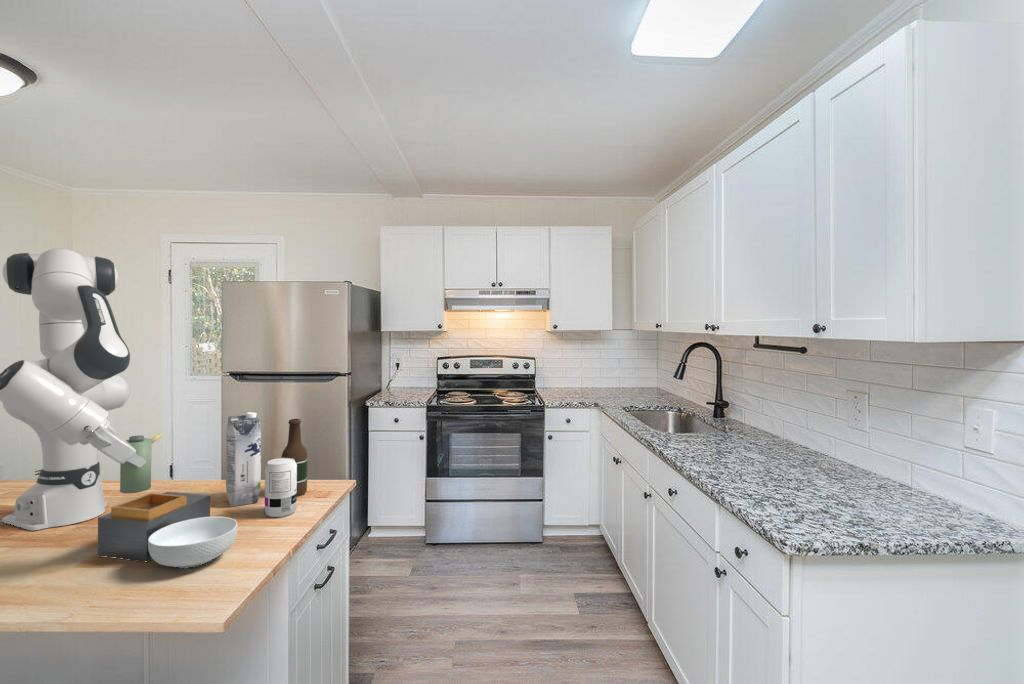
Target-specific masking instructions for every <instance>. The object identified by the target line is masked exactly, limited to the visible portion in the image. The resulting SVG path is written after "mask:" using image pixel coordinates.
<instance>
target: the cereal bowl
mask: <svg viewBox="0 0 1024 684" xmlns="http://www.w3.org/2000/svg"><path fill="white" fill-rule="evenodd" d="M238 524H239V523H238V521H237V520H236V519H234V518H231V517H228V516H210V517H201V518H195V519H190V520H185V521H181V522H177V523H174V524H171V525H169V526H166V527H164V528H161V529H159V530H158V531H156V532H154V533H153V534H152V535H151V536H150V537H149V538H148V550H149V553H150V556H151V557H152V560H153V561H154V562H155V563H156V564H159V565H161V566H165V567H171V568H172V567H174V568H176V567H179V568H178V569H183V568H184V569H189V568H188V567H193V568H195V567H194V566H197V567H199V566H198V565H201V566H203V565H202V564H204V563H206V564H208V563H210V562H212V561H213V560H214V559H215V558H218V557H219V556H220V555H223V554H224V553H225V552H226V551H228V550H229V549H230V548H231V547H232V546H233V545H234V542H235V541H236V538H237V535H238V534H237V533H238V528H239V527H238ZM212 559H213V560H212ZM209 561H210V562H209ZM207 562H208V563H207ZM204 565H205V564H204ZM186 567H187V568H186Z"/></svg>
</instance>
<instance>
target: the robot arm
mask: <svg viewBox="0 0 1024 684" xmlns="http://www.w3.org/2000/svg"><path fill="white" fill-rule="evenodd" d="M2 277H3V279H4V281H5V283H6V284H7V286H8V288H9V289H10V290H11V291H13V292H14V293H17V294H21V295H27V296H28V295H29V296H31V299H32V302H33V303H32V304H34V305H33V306H34V307H35V308H36V310H37V311H39V312H38V315H39V316H38V327H39V328H38V329H39V330H38V331H39V349H40V353H41V355H43V357H45V358H43V359H40V360H33V361H28V360H25V359H21V360H17V361H16V362H14V363H12V364H11V365H9V366H7V367H6V368H5V369H4V370H3V371H1V373H0V402H1V404H2V406H3V407H2V408H3V409H4V410H5V412H6V413H7V414H8V415H9V416H11V417H12V418H15V419H16V420H19V421H21V422H23V423H25V424H26V425H27V426H29V427H30V428H31V429H32V430H33V431H34V432H35V433H36V436H37V437H38V439H39V441H40V444H41V445H40V446H41V454H42V469H39V470H35V471H34V473H35V474H34V476H37V479H36V483H35V484H33V485H32V486H31V487H30V488H29V489H27V490H25V491H24V492H23V493H21V494H20V495H19V496H18V497H17V498H16V500H15V503H14V512H12V513H9V514H8V515H5V516H4V517H2V518H1V523H3V522H4V523H3V524H6V523H7V524H6V525H10V524H11V526H13V525H14V527H18V528H20V527H21V528H20V529H24V530H28V531H38V530H39V531H40V530H44V529H49V528H56V527H61V526H62V527H63V526H68V525H73V524H77V523H82V522H85V521H89V520H92V519H94V518H95V519H96V518H98V517H100V515H101V516H102V514H103V515H104V513H105V512H106V508H107V506H108V501H106V500H105V498H104V489H103V482H102V479H101V478H100V477H99V476H100V474H101V465H100V464H101V463H100V462H99V461H98V460H99V459H98V456H99V455H98V453H99V452H100V453H102V454H104V455H105V456H107V457H109V458H110V459H112V460H113V461H115V462H116V463H117V464H123V463H125V462H126V461H128V462H130V463H132V464H134V465H136V466H137V467H142V466H143V465H144V464H145V463H146V460H145V459H143V458H142V457H140V456H139V455H137V454H136V450H135V449H134V448H133V447H132V446H131V445H130V444H129V443H128V442H127V441H126V440H127V439H125V438H124V437H123V436H122V435H121V434H120V433H119V432H118V431H117V430H116V429H115V428H114V427H113V426H111V421H110V420H109V419H108V416H109V413H110V412H109V411H112V410H115V409H119V408H122V407H123V406H124V405H125V404H126V403H127V401H128V399H129V397H130V393H131V391H130V385H129V383H128V382H127V380H126V379H125V378H124V377H123V376H121V375H119V374H121V373H123V372H124V371H126V370H127V369H128V367H129V366H130V362H131V354H130V353H131V352H130V349H129V347H128V346H127V344H126V342H125V341H124V340H123V337H122V336H121V332H120V330H119V327H118V324H117V321H116V319H115V316H114V313H113V310H112V307H111V304H110V301H109V300H108V298H107V296H109V295H111V294H112V293H113V292H114V291H116V288H117V286H118V284H119V281H120V274H119V271H118V269H117V267H116V265H115V263H114V262H113V261H112V260H111V259H108V258H106V257H101V256H95V257H93V256H88V255H82V254H80V253H79V252H76V251H75V250H72V249H67V248H52V249H48V250H46V251H44V252H42V253H32V254H31V253H28V252H19V253H14V254H11V255H10V256H8V257H7V258H6V261H5V262H4V264H3V267H2ZM98 451H99V452H98Z"/></svg>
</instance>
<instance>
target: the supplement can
mask: <svg viewBox="0 0 1024 684" xmlns="http://www.w3.org/2000/svg"><path fill="white" fill-rule="evenodd" d="M297 500H298V499H297V464H296V462H295V460H294V459H292V458H281V457H278V458H274V459H270V460H268V461H267V464H266V465H265V467H264V514H265V515H266V516H267V515H268V516H267V517H269V516H270V517H269V518H273V517H277V518H283V517H288V516H290V515H292V514H293V512H295V511H296V510H297V508H298V507H297V506H298V505H297Z"/></svg>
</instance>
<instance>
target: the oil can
mask: <svg viewBox="0 0 1024 684" xmlns="http://www.w3.org/2000/svg"><path fill="white" fill-rule="evenodd" d="M162 437H163V434H162V433H158V434H156V435H154V436H153V437H152V438H149V437H147V438H146V437H145V435H139V434H138V435H132V436H129V437H128V439H125V440H126V441H127V442H128V443H129V444H130V445H131V446H132V447H133V448H134V449H135V450H136V454H137V455H139V456H140V457H142V458H143V459H145V460H146V463H145V464H144V465H143V466H142V467H137V466H136V465H134V464H132V463H130V462H128V461H126V462H125V463H123V464H120V463H119V464H120V465H119V466H120V467H119V470H120V471H119V473H120V474H119V475H120V476H119V478H120V480H119V482H120V483H119V492H120V493H122V494H137V493H142V492H146V491H149V490H150V489H151V487H152V446H153V445H152V444H154V443H155V442H156V441H158V440H159V439H161V438H162Z"/></svg>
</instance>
